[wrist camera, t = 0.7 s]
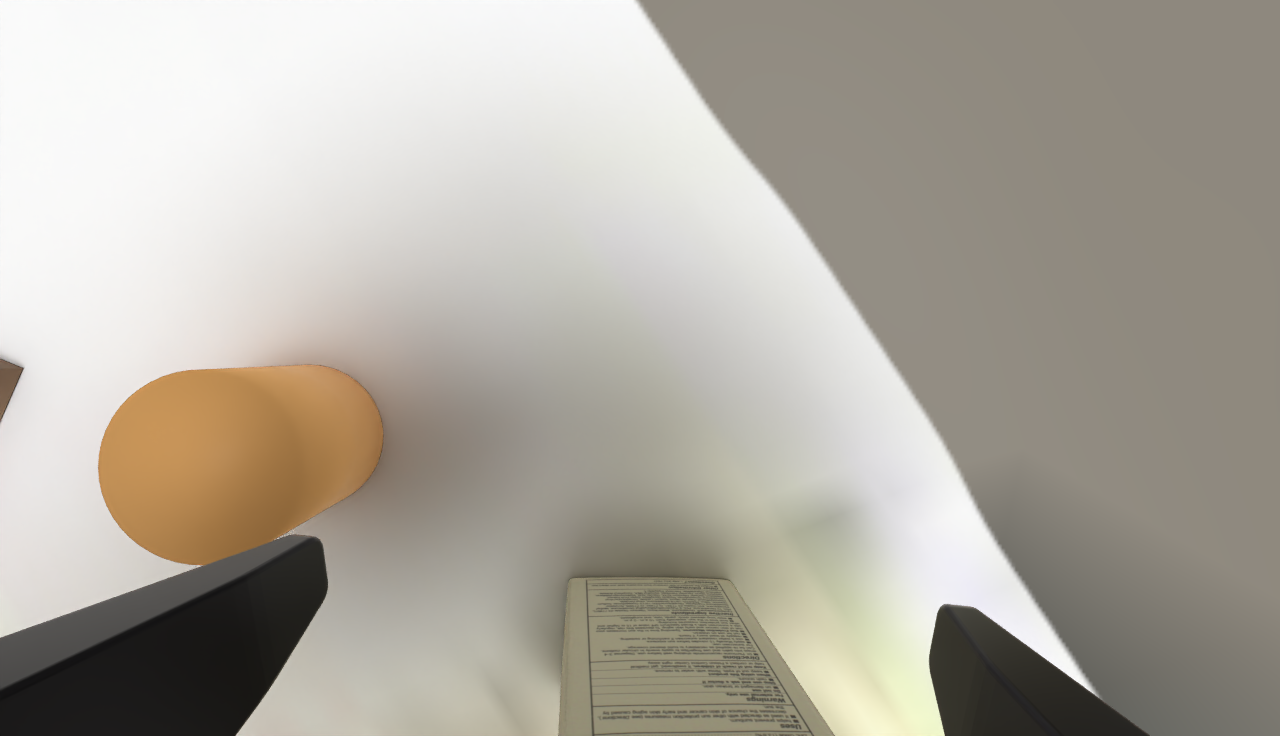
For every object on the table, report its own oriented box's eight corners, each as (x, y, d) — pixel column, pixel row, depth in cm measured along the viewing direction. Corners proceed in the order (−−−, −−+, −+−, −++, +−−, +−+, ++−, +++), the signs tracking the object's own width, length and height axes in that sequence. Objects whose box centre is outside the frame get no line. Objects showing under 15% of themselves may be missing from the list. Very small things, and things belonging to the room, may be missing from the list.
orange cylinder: (349, 528, 22) (257, 594, 16) (212, 474, 22) (66, 520, 16) (405, 398, 22) (335, 415, 16) (269, 342, 22) (145, 338, 16)
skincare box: (561, 690, 23) (522, 1085, 10) (567, 572, 23) (535, 831, 10) (735, 692, 23) (892, 1072, 11) (742, 577, 23) (907, 829, 11)
